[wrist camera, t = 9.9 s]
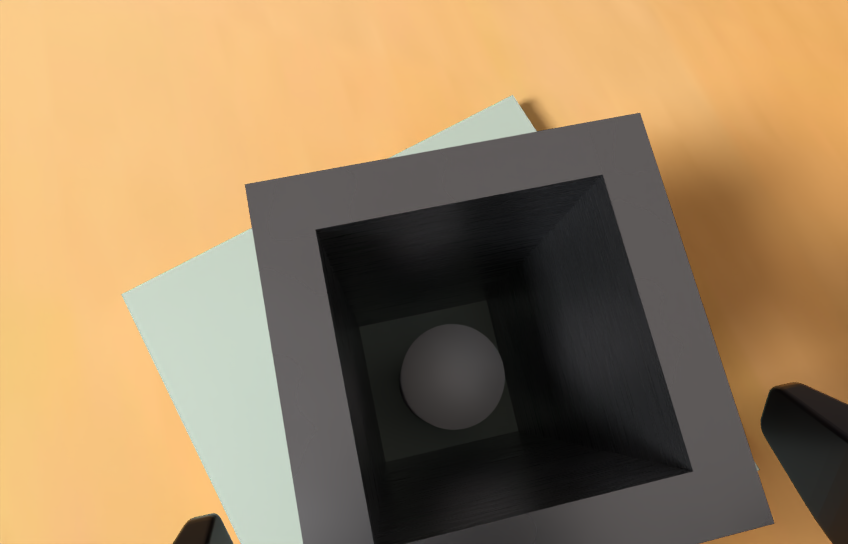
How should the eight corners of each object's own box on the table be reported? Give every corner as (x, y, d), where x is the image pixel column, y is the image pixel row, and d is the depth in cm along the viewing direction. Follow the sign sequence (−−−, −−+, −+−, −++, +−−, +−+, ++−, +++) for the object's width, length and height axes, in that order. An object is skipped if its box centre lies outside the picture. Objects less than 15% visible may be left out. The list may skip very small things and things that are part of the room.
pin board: (739, 466, 18) (869, 490, 13) (346, 735, 16) (325, 885, 11) (506, 109, 20) (543, 16, 15) (136, 300, 18) (40, 262, 13)
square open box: (551, 452, 17) (775, 524, 7) (363, 496, 16) (319, 643, 6) (504, 270, 18) (639, 112, 8) (328, 306, 17) (244, 183, 8)
